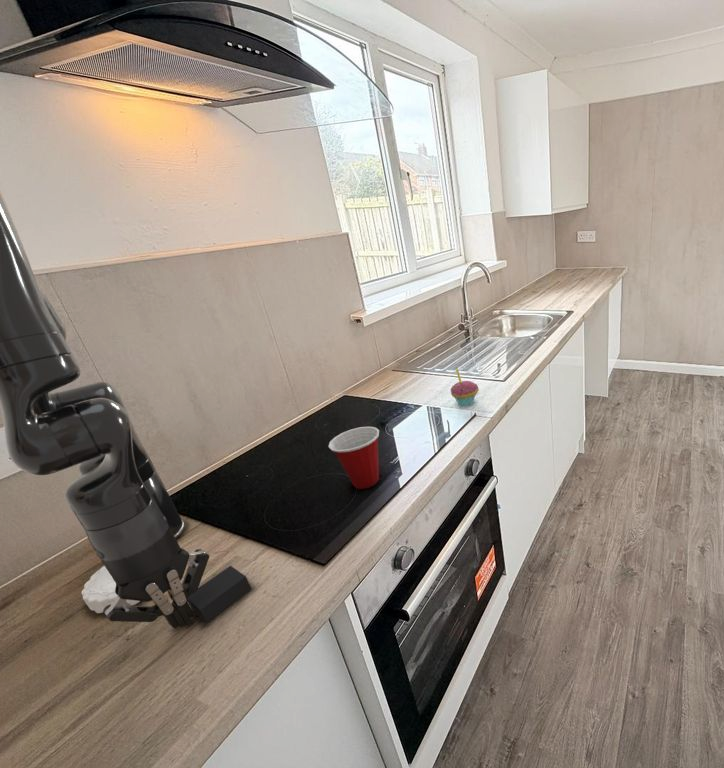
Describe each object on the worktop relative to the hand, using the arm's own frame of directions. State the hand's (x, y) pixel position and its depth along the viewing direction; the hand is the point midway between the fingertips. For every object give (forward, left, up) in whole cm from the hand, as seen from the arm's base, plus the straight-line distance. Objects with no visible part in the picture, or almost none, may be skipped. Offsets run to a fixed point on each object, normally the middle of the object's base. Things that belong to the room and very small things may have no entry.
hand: (183, 622), depth 64 cm
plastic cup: (-3, +39, -1) cm, 39 cm away
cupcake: (-5, +81, -1) cm, 81 cm away
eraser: (0, +5, -1) cm, 5 cm away
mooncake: (-18, 0, -1) cm, 18 cm away
